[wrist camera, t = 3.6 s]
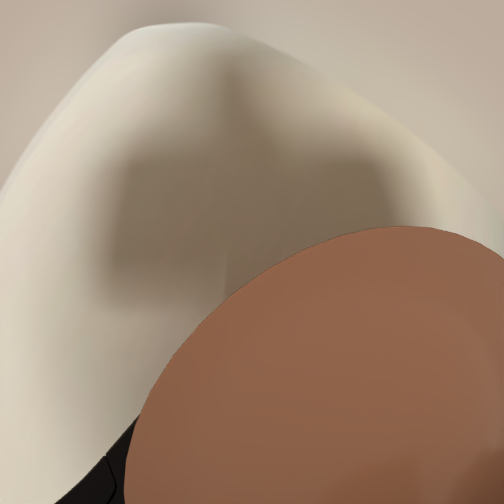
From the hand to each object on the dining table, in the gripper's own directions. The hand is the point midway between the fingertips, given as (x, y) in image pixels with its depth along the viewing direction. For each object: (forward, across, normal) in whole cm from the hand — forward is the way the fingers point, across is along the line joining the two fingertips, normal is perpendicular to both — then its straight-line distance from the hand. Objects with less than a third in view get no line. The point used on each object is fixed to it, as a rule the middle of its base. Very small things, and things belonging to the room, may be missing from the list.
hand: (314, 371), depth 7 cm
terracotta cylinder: (+4, 0, +6) cm, 7 cm away
